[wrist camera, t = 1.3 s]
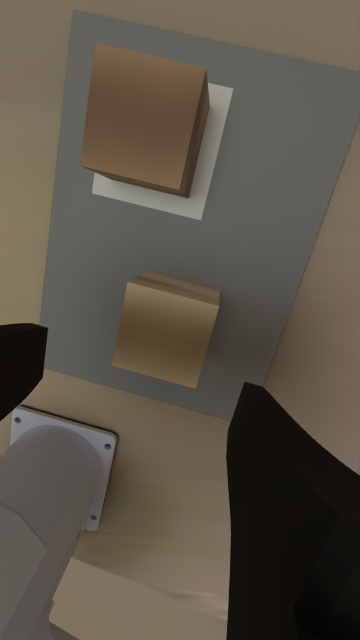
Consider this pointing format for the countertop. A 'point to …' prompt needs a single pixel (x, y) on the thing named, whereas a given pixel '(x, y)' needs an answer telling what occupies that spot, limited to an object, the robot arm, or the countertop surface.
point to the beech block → (165, 328)
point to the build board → (196, 211)
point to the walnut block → (144, 119)
